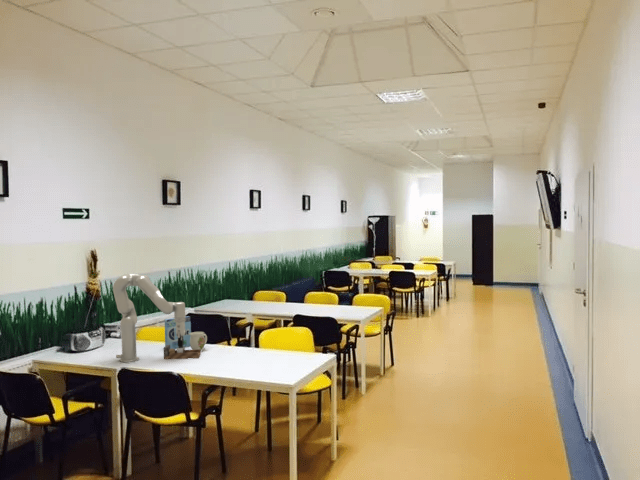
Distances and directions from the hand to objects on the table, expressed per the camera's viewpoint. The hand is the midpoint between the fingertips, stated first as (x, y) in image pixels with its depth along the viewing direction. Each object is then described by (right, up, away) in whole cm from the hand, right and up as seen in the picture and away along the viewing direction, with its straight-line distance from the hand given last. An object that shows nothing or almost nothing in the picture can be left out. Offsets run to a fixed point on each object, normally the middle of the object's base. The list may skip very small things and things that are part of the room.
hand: (180, 345), depth 390 cm
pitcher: (+8, -8, +21) cm, 24 cm away
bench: (+1, -9, 0) cm, 9 cm away
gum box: (-10, -8, +31) cm, 33 cm away
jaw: (0, -6, 0) cm, 6 cm away
